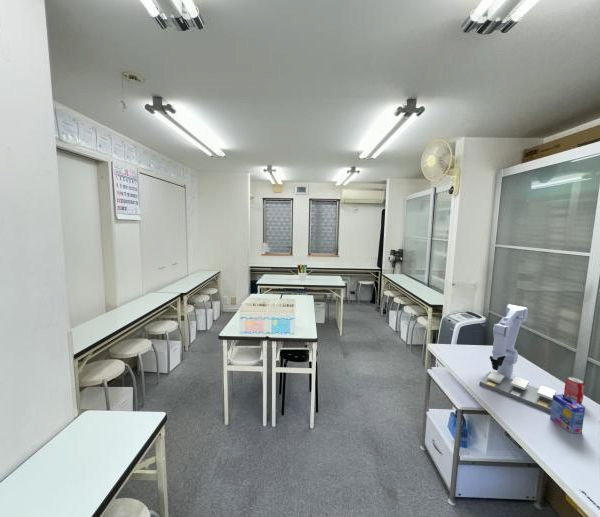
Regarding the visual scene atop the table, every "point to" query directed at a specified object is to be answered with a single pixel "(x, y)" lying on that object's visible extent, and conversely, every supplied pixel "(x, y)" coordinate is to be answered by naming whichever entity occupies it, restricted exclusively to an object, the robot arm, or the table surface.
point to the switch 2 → (520, 383)
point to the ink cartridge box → (567, 413)
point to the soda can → (574, 389)
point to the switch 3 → (546, 392)
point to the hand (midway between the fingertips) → (497, 367)
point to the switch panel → (518, 393)
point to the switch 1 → (496, 377)
